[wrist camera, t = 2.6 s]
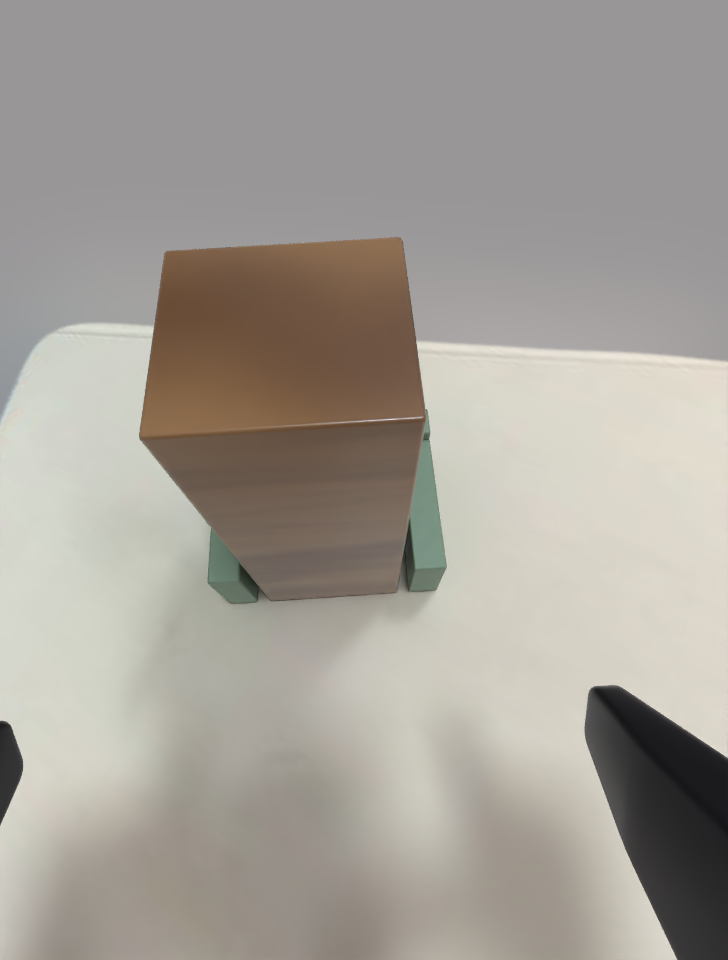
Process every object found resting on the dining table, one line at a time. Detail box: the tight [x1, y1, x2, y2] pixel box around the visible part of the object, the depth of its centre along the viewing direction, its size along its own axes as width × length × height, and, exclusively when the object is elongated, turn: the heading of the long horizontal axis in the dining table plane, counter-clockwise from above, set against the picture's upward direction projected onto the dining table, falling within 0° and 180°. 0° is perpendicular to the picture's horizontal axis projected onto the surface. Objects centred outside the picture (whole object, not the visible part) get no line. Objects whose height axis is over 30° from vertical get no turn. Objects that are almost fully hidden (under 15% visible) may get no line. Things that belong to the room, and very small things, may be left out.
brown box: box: [139, 237, 427, 601], centre depth 17 cm, size 5×6×14 cm
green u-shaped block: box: [208, 409, 447, 603], centre depth 22 cm, size 7×9×4 cm
